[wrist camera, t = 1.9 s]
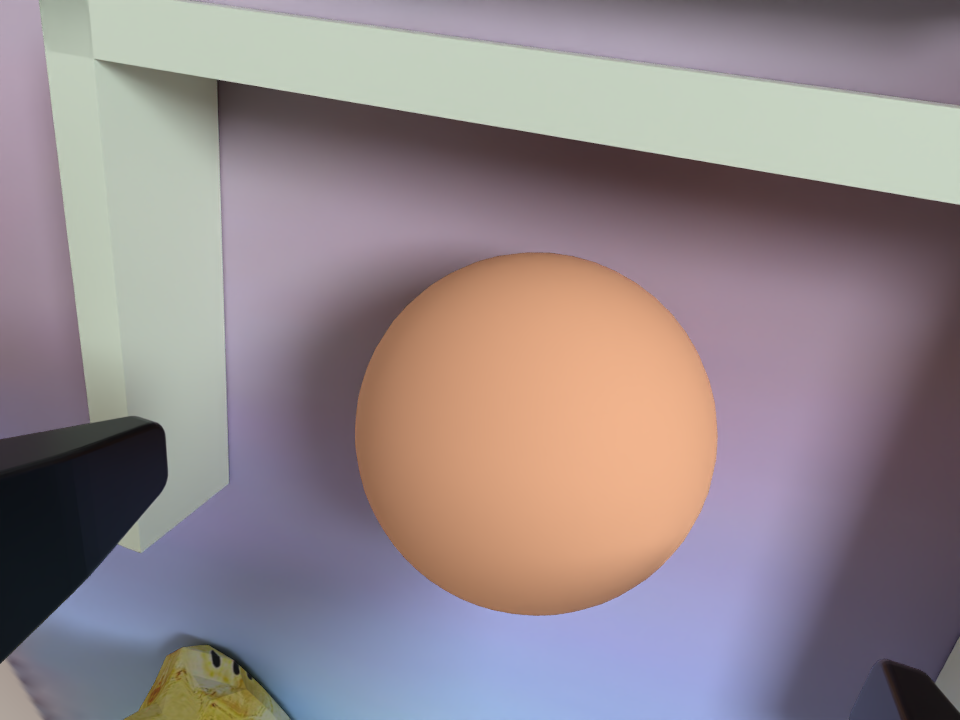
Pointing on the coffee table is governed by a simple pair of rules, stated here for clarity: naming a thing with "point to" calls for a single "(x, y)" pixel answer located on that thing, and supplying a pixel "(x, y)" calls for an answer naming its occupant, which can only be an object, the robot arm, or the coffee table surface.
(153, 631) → the coffee table surface
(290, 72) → the corral
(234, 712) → the chocolate bunny
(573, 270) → the ball
